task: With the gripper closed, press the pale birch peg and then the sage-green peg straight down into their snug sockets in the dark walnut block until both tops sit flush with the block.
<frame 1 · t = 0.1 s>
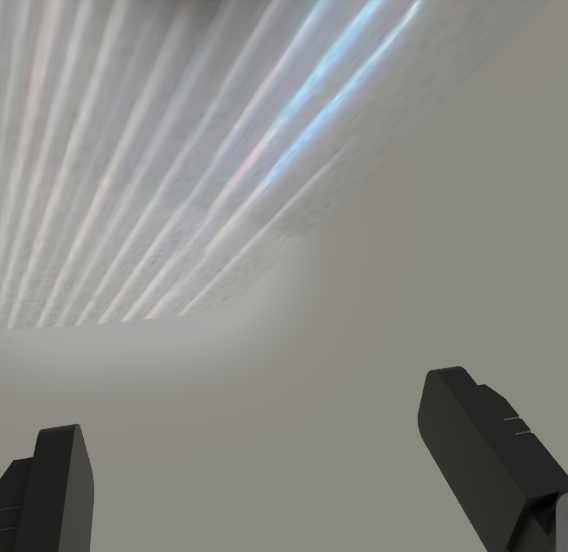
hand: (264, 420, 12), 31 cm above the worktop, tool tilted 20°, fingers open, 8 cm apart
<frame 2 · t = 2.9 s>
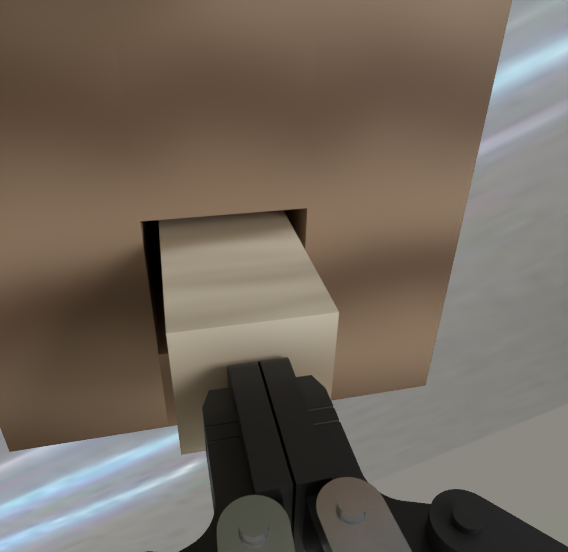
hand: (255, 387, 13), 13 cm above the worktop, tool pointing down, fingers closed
walnut block: (194, 45, 20), on the worktop
birch peg: (233, 299, 16), point 9 cm above the worktop, slide at 4.7 cm, touching gripper
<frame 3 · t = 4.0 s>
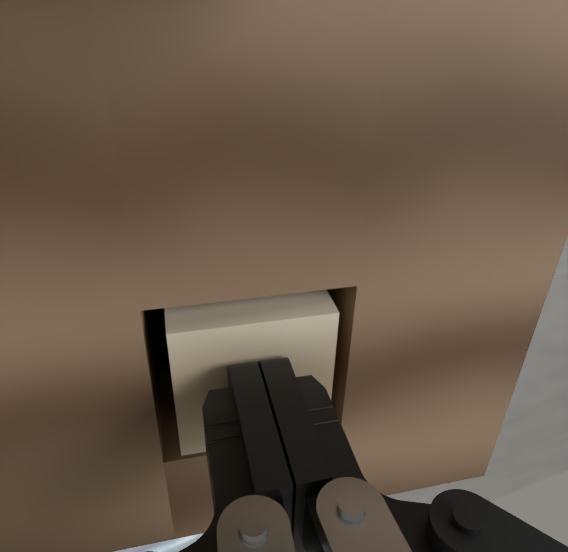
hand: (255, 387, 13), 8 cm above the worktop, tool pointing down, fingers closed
walnut block: (206, 68, 17), on the worktop
birch peg: (233, 300, 16), point 4 cm above the worktop, slide at 0.3 cm, touching gripper
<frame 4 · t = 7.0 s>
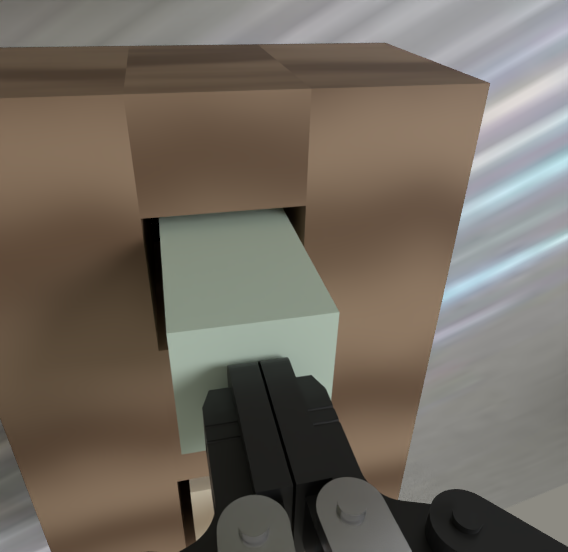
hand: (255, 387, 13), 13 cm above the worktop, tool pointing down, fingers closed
sage peg: (233, 299, 16), point 9 cm above the worktop, slide at 4.9 cm, touching gripper
walnut block: (211, 297, 27), on the worktop
birch peg: (227, 443, 26), point 4 cm above the worktop, slide at 0.3 cm
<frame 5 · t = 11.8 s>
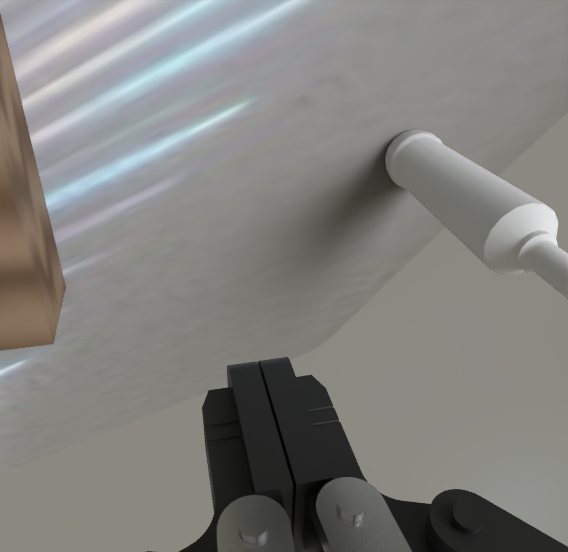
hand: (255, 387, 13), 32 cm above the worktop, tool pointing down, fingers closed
bottle: (408, 155, 47), on the worktop
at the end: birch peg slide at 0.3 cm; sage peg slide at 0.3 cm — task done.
